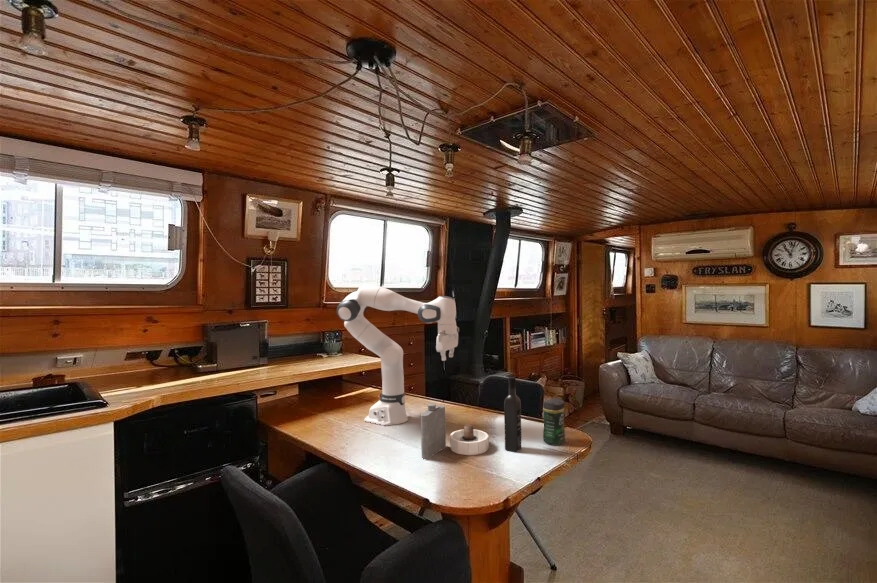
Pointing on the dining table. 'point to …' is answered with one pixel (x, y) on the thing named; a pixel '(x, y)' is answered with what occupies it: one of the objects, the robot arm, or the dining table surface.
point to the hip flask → (433, 430)
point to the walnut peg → (468, 432)
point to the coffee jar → (554, 421)
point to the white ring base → (469, 443)
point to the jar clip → (467, 440)
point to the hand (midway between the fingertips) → (447, 358)
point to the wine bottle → (512, 418)
